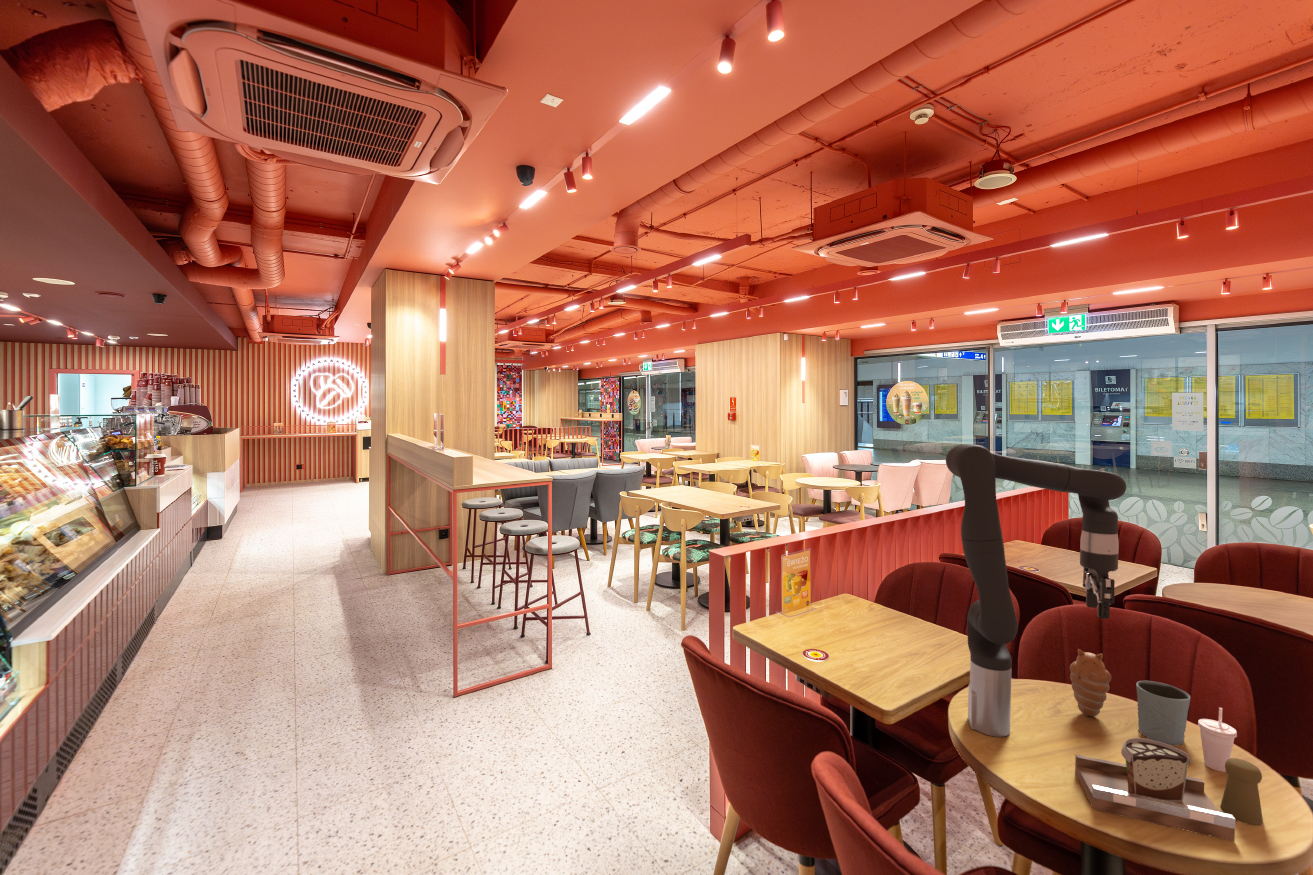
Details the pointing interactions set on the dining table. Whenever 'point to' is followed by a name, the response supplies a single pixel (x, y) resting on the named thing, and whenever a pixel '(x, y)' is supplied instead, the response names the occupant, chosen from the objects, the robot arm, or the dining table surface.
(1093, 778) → the wooden tray
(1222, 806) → the cork
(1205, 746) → the smoothie
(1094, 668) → the cat ice cream
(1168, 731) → the grey blue pot
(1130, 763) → the food container
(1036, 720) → the dining table surface
